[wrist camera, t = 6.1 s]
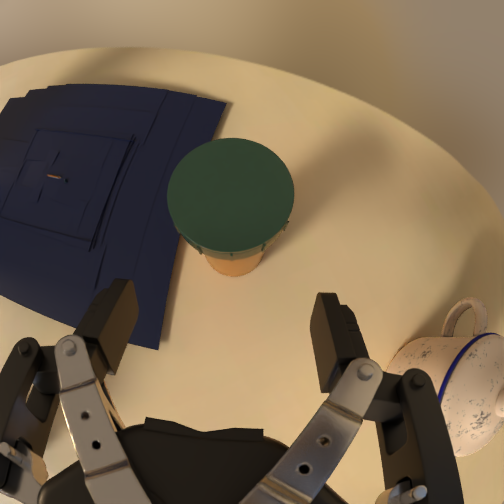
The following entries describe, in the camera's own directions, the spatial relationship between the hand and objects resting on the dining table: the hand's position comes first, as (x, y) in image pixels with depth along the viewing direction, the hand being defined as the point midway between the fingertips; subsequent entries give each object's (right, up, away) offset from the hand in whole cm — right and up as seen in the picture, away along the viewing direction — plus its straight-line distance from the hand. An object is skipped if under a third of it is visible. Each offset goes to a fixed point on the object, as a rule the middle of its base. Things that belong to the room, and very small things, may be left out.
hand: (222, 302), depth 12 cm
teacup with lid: (+17, -8, +9) cm, 21 cm away
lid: (0, +5, +1) cm, 5 cm away
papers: (-18, +9, +12) cm, 23 cm away
